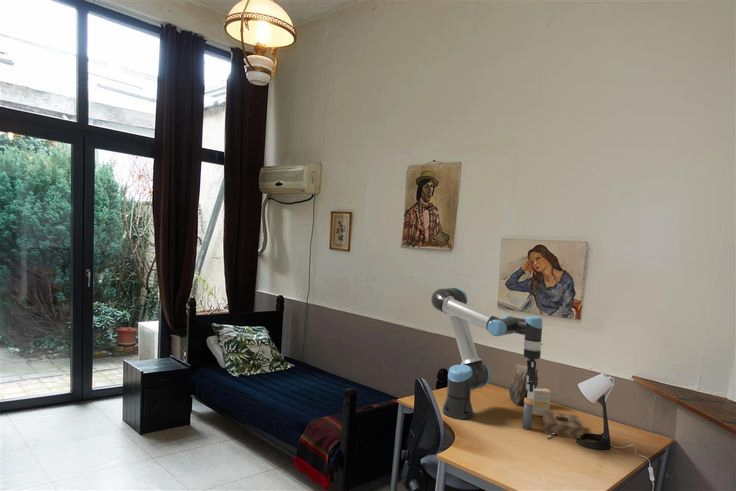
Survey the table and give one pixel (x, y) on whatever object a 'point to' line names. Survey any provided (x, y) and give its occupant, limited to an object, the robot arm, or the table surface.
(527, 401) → the marker peg
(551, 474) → the table surface
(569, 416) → the socket board
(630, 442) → the table surface
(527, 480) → the table surface
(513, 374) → the brown rock
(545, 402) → the supplement box
